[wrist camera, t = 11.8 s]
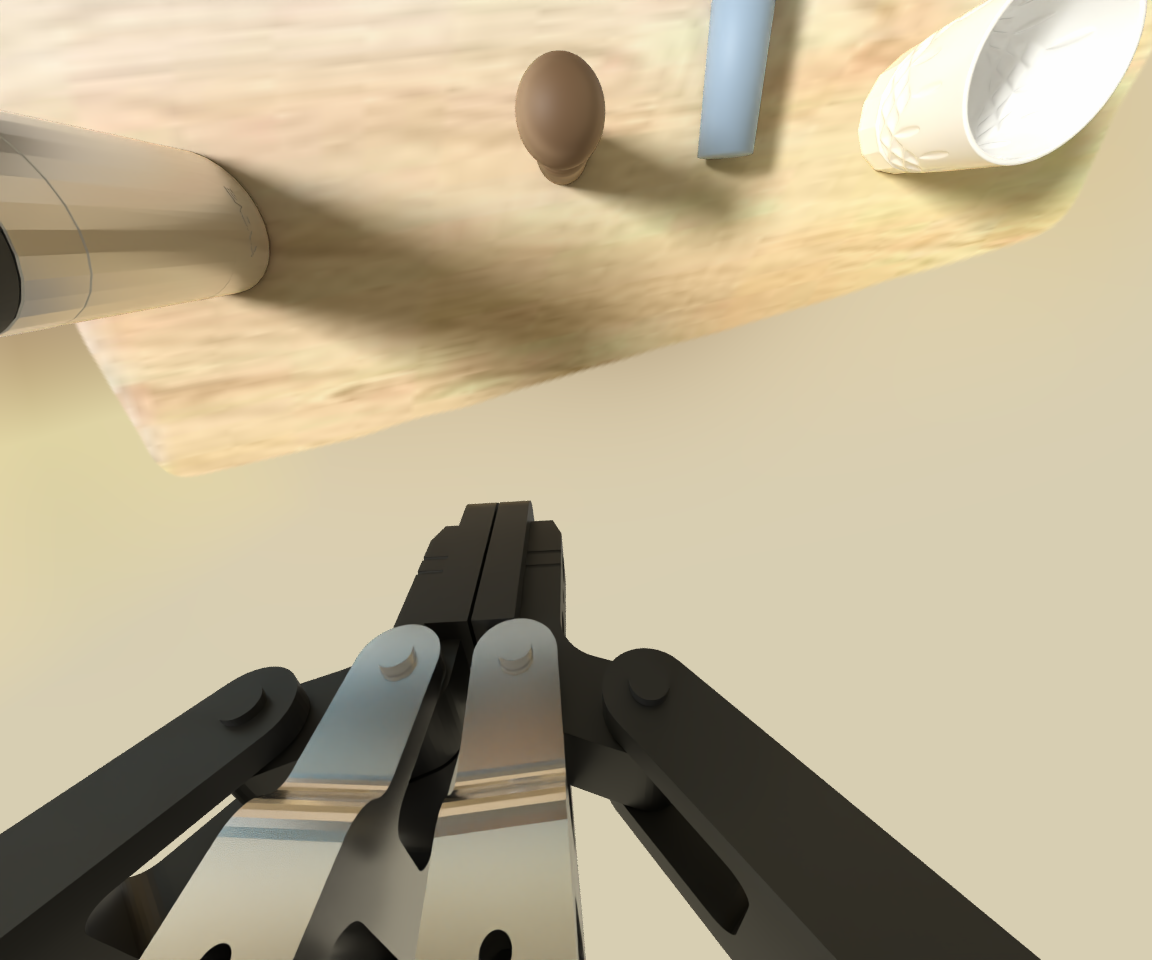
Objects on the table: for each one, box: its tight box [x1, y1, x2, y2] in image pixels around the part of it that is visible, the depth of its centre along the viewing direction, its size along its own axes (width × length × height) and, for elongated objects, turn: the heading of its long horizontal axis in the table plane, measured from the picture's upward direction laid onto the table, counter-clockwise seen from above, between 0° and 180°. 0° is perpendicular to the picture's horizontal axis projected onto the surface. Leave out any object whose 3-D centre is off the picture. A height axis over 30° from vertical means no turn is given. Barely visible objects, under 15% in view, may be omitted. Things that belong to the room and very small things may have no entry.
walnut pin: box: [515, 51, 605, 185], centre depth 24 cm, size 4×4×14 cm
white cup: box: [858, 0, 1147, 174], centre depth 25 cm, size 8×8×10 cm
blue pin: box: [698, 0, 776, 159], centre depth 25 cm, size 4×4×14 cm
